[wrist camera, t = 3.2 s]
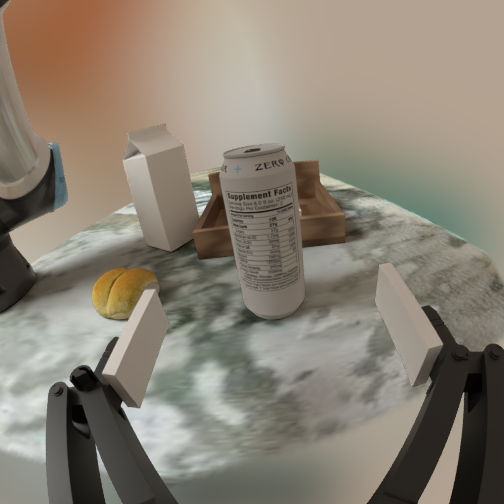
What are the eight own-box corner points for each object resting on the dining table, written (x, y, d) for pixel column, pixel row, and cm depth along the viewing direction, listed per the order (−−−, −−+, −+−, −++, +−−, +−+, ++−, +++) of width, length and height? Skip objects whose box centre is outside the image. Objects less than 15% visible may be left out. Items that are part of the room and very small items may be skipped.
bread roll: (121, 280, 37) (111, 255, 35) (170, 285, 34) (161, 257, 32) (84, 315, 30) (71, 289, 28) (133, 329, 27) (119, 299, 26)
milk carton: (203, 233, 47) (178, 119, 38) (171, 253, 42) (139, 128, 33) (176, 228, 51) (152, 127, 42) (146, 245, 46) (116, 136, 37)
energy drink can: (306, 284, 30) (293, 140, 23) (303, 323, 25) (289, 150, 18) (251, 285, 31) (227, 147, 24) (239, 323, 26) (204, 160, 19)
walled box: (199, 259, 39) (185, 204, 35) (217, 213, 54) (209, 173, 51) (345, 242, 37) (344, 184, 33) (320, 200, 53) (317, 159, 49)
